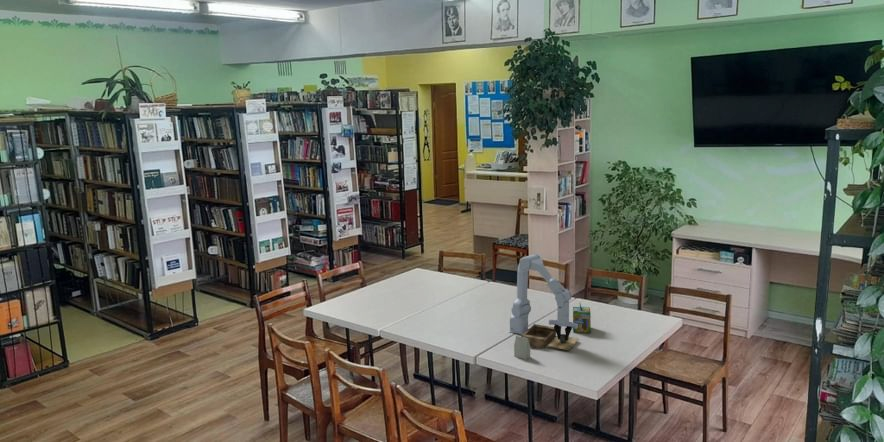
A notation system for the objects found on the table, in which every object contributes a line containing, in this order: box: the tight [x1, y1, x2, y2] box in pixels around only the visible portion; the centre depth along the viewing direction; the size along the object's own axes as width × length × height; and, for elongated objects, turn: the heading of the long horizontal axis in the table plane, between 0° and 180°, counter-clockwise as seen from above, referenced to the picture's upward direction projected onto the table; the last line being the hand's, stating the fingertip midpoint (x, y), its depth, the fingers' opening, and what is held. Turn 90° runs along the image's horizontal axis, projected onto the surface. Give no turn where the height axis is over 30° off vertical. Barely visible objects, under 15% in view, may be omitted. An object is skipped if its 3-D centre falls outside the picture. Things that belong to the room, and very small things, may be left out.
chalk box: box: [572, 302, 592, 334], centre depth 325 cm, size 9×9×15 cm
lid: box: [546, 333, 580, 351], centre depth 307 cm, size 11×15×4 cm
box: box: [520, 323, 557, 350], centre depth 313 cm, size 12×18×5 cm, turn 150°
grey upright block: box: [513, 335, 531, 361], centre depth 294 cm, size 4×7×10 cm, turn 51°
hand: (563, 339), depth 307 cm, fingers open, 3 cm apart
